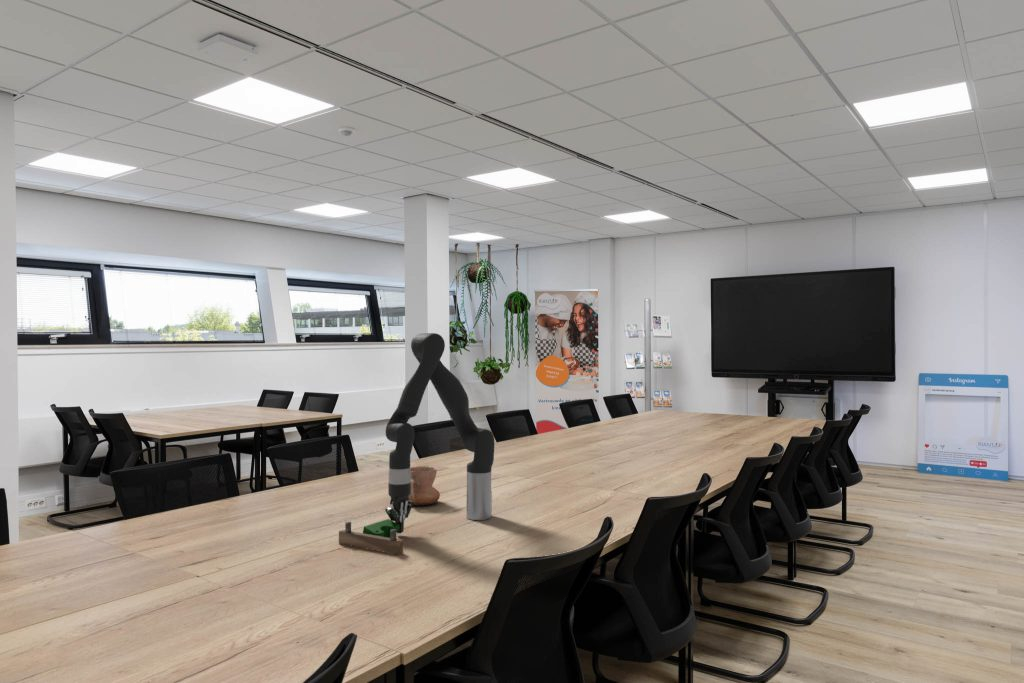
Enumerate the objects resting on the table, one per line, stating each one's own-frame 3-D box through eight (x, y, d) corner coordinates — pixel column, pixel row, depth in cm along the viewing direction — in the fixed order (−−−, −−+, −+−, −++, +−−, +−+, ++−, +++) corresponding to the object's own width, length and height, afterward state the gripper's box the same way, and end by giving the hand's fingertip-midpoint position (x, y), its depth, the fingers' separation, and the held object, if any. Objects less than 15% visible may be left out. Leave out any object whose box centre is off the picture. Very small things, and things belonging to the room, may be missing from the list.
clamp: (376, 558, 207) (372, 537, 203) (363, 551, 210) (359, 529, 206) (402, 536, 215) (399, 515, 211) (390, 529, 218) (387, 508, 214)
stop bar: (343, 542, 210) (343, 520, 210) (403, 553, 199) (403, 530, 199) (338, 543, 208) (338, 522, 208) (399, 555, 197) (399, 532, 197)
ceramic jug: (419, 497, 272) (418, 463, 272) (448, 500, 266) (447, 466, 266) (393, 507, 256) (392, 471, 256) (423, 511, 250) (423, 474, 250)
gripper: (396, 486, 210) (396, 539, 210) (420, 478, 221) (420, 528, 221) (378, 483, 213) (378, 536, 213) (402, 476, 225) (402, 526, 225)
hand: (399, 532), depth 217 cm, fingers closed
